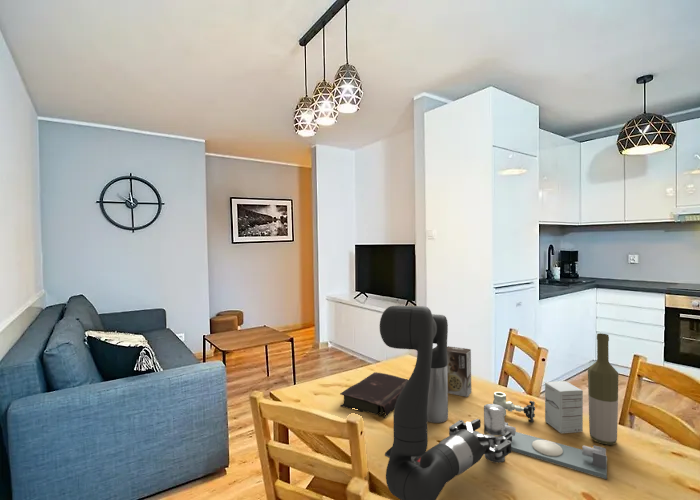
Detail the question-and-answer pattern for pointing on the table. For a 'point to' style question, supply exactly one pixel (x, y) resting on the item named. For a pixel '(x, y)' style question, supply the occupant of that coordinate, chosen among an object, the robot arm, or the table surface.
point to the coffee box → (459, 371)
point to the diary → (374, 394)
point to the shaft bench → (561, 453)
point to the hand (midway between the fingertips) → (494, 428)
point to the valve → (501, 400)
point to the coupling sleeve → (494, 426)
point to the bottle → (603, 395)
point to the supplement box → (564, 407)
